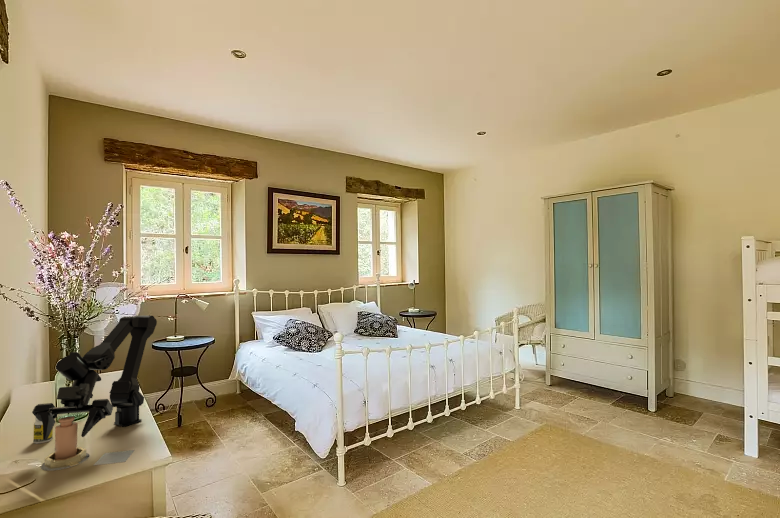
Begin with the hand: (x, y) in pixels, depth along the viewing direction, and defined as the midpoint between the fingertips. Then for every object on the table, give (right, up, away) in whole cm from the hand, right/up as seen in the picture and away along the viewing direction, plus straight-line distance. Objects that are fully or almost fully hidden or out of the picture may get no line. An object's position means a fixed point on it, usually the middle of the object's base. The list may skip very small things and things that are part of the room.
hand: (63, 438), depth 116 cm
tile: (+12, -8, +3) cm, 15 cm away
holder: (0, -8, +1) cm, 8 cm away
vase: (0, -7, +1) cm, 7 cm away
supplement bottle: (-20, -8, +17) cm, 28 cm away
